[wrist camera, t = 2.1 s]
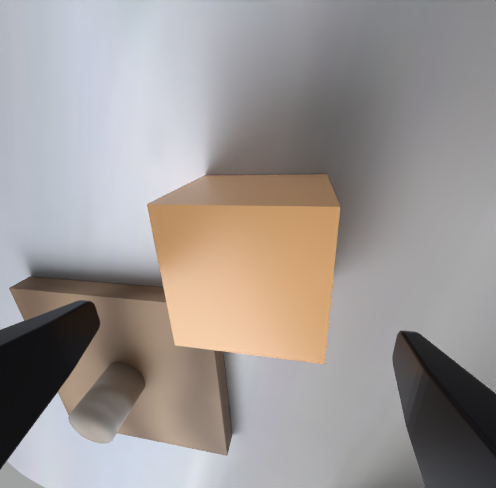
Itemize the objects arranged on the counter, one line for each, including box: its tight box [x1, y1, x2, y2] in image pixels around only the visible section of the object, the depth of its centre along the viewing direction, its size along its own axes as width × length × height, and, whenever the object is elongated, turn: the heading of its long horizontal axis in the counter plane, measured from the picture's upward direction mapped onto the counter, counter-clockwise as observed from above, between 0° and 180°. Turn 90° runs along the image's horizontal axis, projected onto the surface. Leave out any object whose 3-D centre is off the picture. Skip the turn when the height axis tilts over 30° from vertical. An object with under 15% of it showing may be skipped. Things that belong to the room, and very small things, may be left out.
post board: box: [9, 277, 232, 455], centre depth 18 cm, size 14×14×5 cm
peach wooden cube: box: [147, 174, 340, 364], centre depth 12 cm, size 6×6×6 cm
